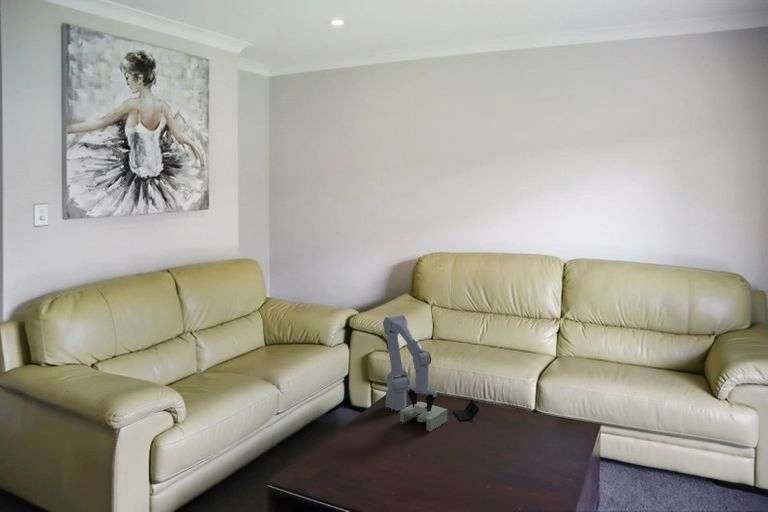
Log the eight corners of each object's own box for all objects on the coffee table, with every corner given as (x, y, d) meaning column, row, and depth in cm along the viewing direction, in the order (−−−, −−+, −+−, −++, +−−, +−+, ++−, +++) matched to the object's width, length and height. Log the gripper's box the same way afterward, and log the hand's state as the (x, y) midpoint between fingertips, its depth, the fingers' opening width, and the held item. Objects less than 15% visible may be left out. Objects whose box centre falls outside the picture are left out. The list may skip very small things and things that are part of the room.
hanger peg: (414, 420, 255) (414, 405, 254) (420, 417, 259) (420, 401, 258) (423, 423, 252) (423, 407, 251) (429, 419, 256) (429, 404, 255)
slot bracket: (400, 422, 256) (400, 410, 255) (417, 412, 267) (417, 401, 266) (430, 431, 246) (430, 419, 246) (447, 420, 258) (447, 409, 257)
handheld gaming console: (449, 409, 267) (462, 392, 266) (459, 416, 270) (472, 399, 269) (459, 422, 256) (473, 404, 256) (470, 429, 259) (484, 412, 259)
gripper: (403, 378, 254) (403, 408, 256) (431, 385, 246) (430, 415, 247) (412, 374, 260) (412, 403, 262) (439, 380, 251) (439, 410, 253)
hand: (421, 409), depth 255 cm, fingers open, 7 cm apart
